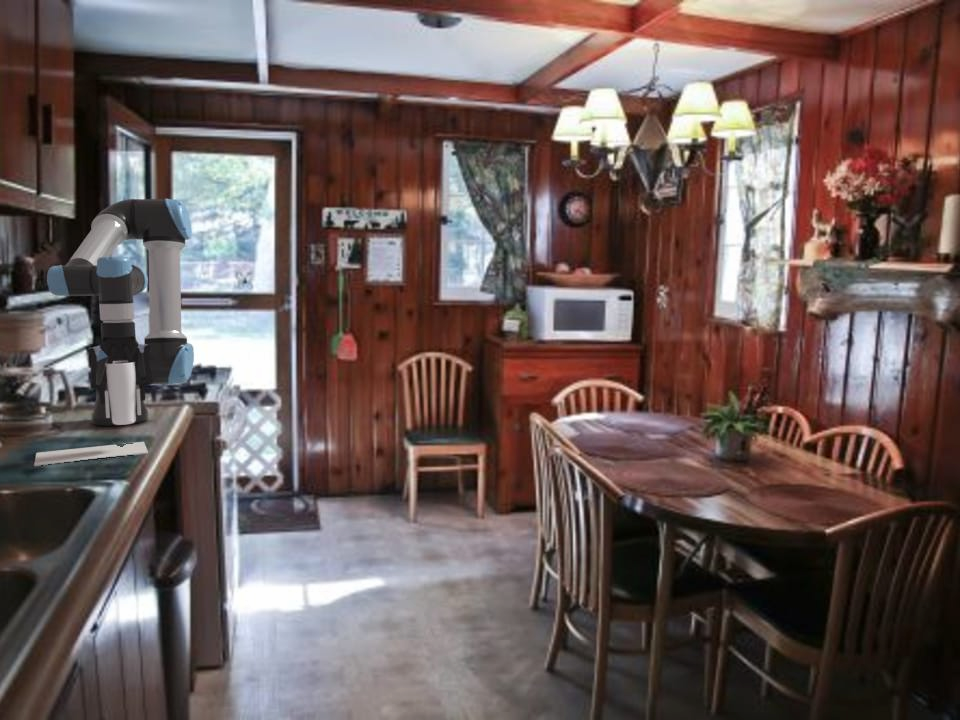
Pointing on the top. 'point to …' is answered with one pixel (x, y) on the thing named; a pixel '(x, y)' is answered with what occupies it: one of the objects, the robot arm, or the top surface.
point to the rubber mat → (89, 453)
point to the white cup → (122, 391)
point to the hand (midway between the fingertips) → (123, 415)
